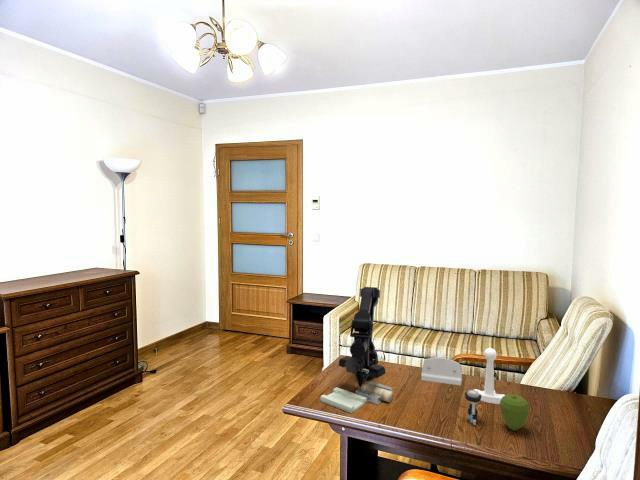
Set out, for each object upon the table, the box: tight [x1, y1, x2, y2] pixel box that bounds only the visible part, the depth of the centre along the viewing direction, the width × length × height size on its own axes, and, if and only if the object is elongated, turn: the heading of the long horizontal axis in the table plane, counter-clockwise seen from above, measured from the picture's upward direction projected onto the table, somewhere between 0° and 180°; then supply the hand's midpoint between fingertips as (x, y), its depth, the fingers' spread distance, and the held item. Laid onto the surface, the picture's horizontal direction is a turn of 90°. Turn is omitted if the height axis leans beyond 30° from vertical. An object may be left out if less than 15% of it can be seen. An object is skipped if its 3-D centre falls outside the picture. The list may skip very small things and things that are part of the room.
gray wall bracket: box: [420, 357, 463, 386], centre depth 174 cm, size 17×5×10 cm, turn 71°
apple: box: [499, 393, 530, 432], centre depth 135 cm, size 9×8×12 cm
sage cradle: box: [319, 387, 368, 414], centre depth 153 cm, size 10×14×2 cm
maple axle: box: [360, 382, 394, 403], centre depth 157 cm, size 12×4×4 cm, turn 51°
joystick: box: [473, 347, 506, 405], centre depth 156 cm, size 11×8×20 cm
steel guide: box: [355, 380, 394, 406], centre depth 159 cm, size 11×10×2 cm
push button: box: [464, 389, 482, 426], centre depth 140 cm, size 7×5×10 cm
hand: (361, 387), depth 163 cm, fingers closed
